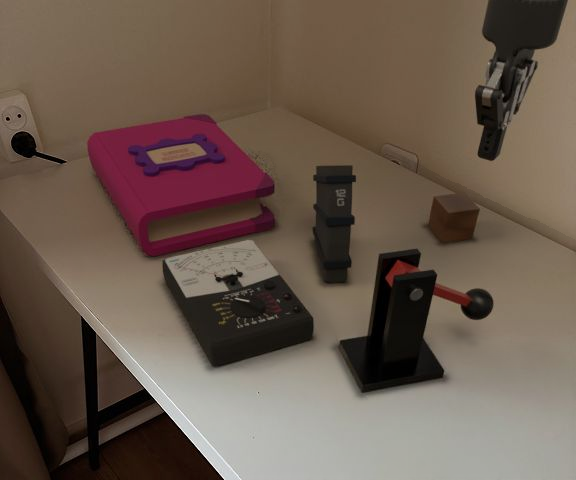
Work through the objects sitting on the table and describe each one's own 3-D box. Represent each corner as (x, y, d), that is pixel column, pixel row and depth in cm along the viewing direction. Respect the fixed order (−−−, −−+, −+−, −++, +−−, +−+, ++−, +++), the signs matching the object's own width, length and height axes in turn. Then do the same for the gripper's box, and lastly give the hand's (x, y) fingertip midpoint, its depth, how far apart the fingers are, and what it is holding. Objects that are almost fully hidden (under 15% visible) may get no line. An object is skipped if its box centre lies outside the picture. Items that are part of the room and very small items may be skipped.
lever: (470, 310, 75) (490, 286, 74) (485, 329, 73) (505, 305, 71) (379, 278, 68) (398, 251, 66) (392, 298, 66) (412, 270, 64)
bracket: (414, 334, 79) (435, 237, 69) (442, 378, 73) (469, 279, 64) (338, 347, 77) (349, 249, 67) (361, 393, 71) (376, 293, 62)
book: (143, 260, 89) (135, 211, 84) (92, 174, 107) (83, 129, 101) (278, 227, 96) (278, 180, 91) (209, 152, 114) (206, 109, 108)
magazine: (326, 287, 83) (326, 166, 78) (312, 272, 95) (311, 166, 90) (354, 286, 83) (356, 165, 78) (337, 271, 95) (337, 165, 90)
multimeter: (212, 370, 73) (210, 337, 70) (163, 281, 86) (158, 249, 82) (314, 341, 78) (316, 308, 74) (253, 259, 90) (252, 228, 86)
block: (457, 222, 99) (464, 192, 95) (472, 239, 95) (480, 208, 92) (427, 226, 98) (433, 196, 94) (441, 243, 94) (448, 212, 91)
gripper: (547, 8, 57) (497, 188, 69) (588, -20, 65) (537, 146, 77) (468, -6, 60) (434, 169, 72) (517, -31, 68) (479, 130, 80)
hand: (487, 156), depth 75 cm, fingers closed
